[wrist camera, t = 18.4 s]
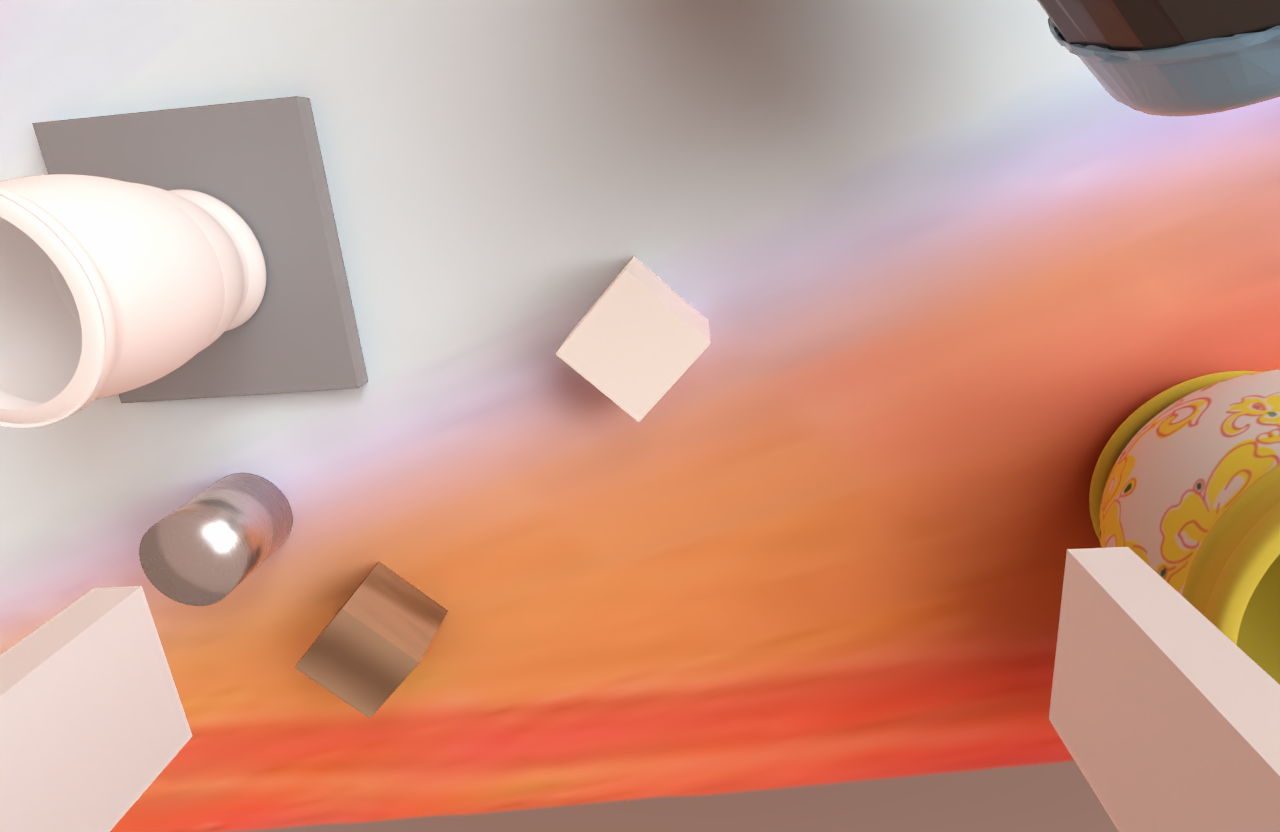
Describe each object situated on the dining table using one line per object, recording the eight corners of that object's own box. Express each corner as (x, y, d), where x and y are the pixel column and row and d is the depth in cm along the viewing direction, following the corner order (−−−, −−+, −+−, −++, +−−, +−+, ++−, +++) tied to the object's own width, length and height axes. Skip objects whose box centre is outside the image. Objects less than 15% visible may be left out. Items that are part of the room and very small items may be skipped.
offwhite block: (633, 255, 45) (624, 270, 40) (708, 320, 46) (710, 343, 41) (572, 330, 47) (555, 354, 42) (645, 391, 48) (638, 422, 43)
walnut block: (379, 561, 54) (342, 608, 48) (448, 610, 55) (419, 662, 49) (335, 614, 55) (294, 667, 50) (402, 661, 56) (369, 718, 51)
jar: (321, 289, 46) (153, 349, 32) (202, 378, 48) (-2, 470, 34) (199, 133, 43) (-41, 122, 29) (81, 235, 46) (-195, 271, 32)
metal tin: (281, 470, 52) (220, 517, 45) (301, 548, 54) (246, 604, 47) (198, 475, 52) (127, 521, 46) (221, 552, 54) (155, 607, 48)
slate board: (309, 98, 44) (296, 96, 42) (368, 381, 49) (358, 388, 48) (53, 124, 45) (32, 123, 44) (137, 396, 51) (121, 403, 49)
